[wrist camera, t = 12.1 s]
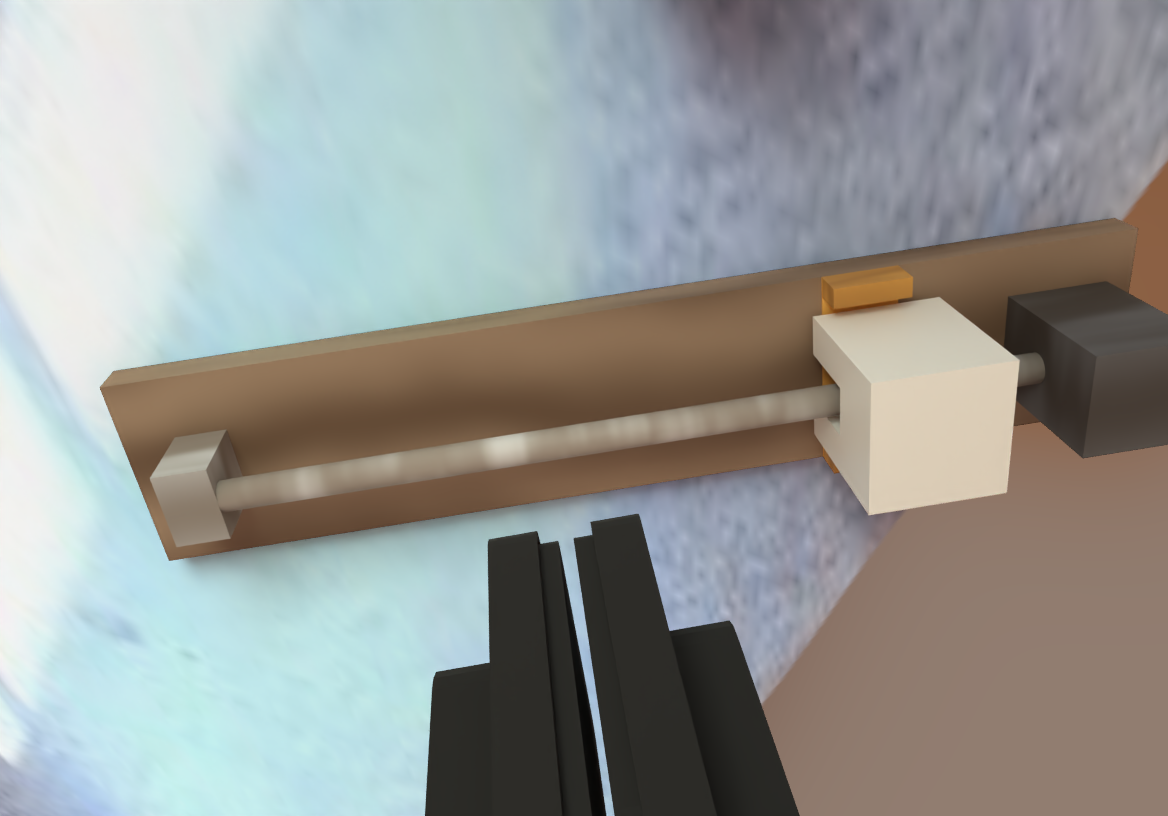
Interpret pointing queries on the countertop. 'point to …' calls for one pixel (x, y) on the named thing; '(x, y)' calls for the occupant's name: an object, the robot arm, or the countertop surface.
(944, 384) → the sleeve
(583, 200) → the countertop surface
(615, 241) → the countertop surface
